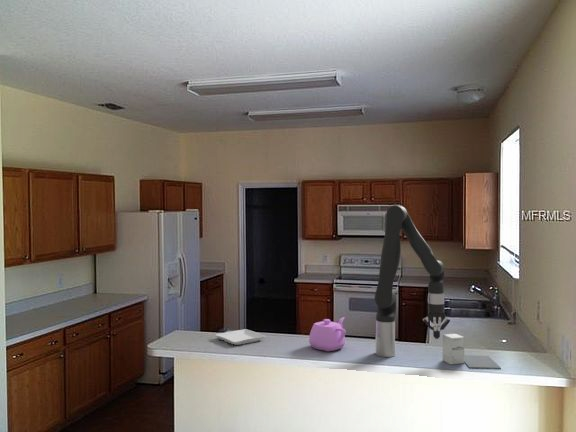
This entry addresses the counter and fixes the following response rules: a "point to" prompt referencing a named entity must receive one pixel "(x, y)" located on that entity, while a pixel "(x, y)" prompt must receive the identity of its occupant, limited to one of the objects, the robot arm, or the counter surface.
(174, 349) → the counter surface
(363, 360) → the counter surface
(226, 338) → the salad plate
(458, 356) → the supplement box
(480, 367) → the charcoal mat
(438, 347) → the counter surface
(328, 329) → the teapot
